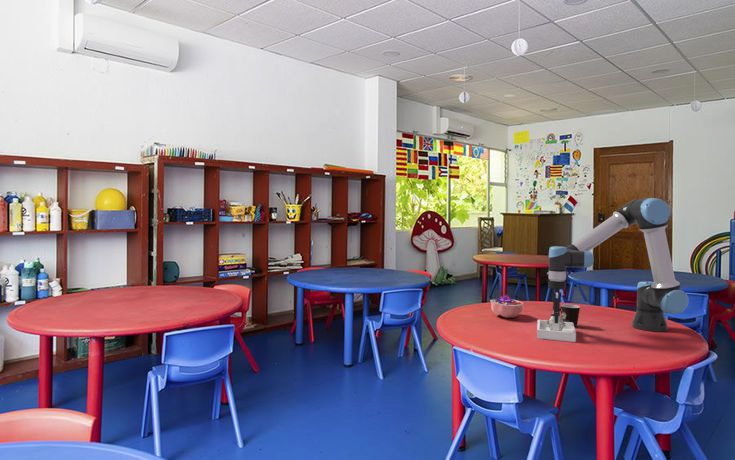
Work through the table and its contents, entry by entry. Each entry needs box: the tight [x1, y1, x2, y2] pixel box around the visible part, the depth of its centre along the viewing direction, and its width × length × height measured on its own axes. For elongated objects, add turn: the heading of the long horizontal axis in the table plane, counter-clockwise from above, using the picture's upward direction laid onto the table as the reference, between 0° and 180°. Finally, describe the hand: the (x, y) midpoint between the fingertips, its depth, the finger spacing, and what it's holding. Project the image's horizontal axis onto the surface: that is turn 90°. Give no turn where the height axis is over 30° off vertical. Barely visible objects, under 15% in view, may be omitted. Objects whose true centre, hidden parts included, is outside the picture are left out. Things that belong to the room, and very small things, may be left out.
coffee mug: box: [560, 303, 581, 329], centre depth 244 cm, size 12×9×10 cm
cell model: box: [489, 294, 524, 319], centre depth 262 cm, size 17×20×11 cm
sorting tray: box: [536, 319, 577, 343], centre depth 226 cm, size 16×21×4 cm
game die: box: [546, 314, 566, 331], centre depth 226 cm, size 9×8×10 cm
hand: (555, 327), depth 226 cm, fingers open, 11 cm apart
